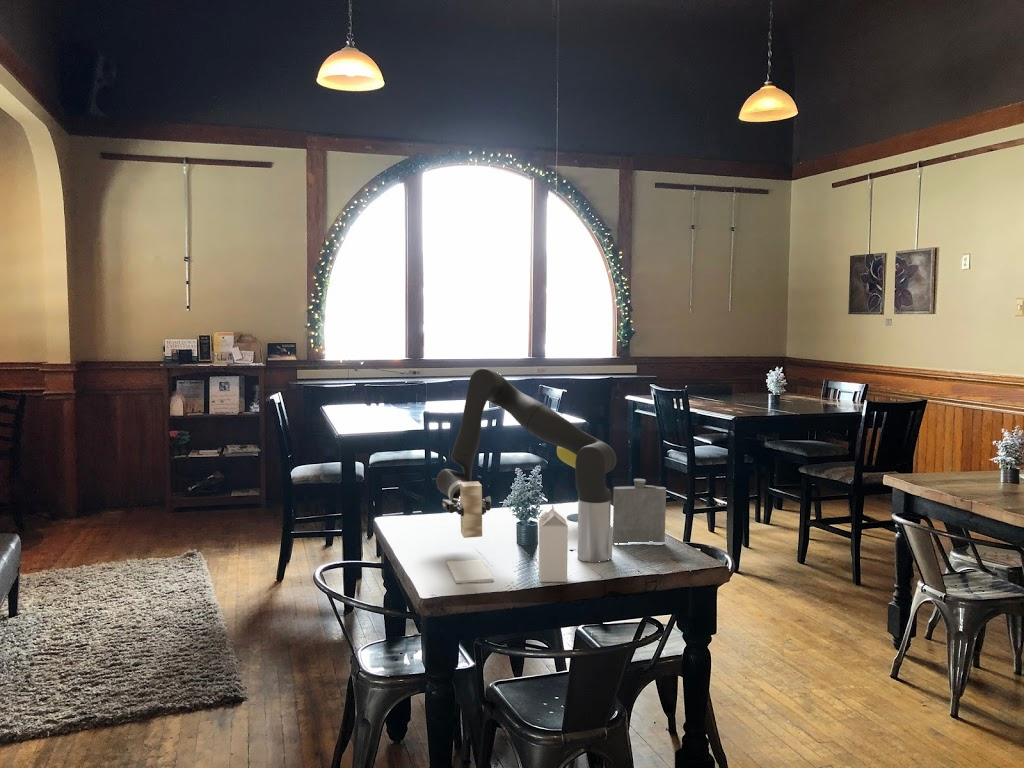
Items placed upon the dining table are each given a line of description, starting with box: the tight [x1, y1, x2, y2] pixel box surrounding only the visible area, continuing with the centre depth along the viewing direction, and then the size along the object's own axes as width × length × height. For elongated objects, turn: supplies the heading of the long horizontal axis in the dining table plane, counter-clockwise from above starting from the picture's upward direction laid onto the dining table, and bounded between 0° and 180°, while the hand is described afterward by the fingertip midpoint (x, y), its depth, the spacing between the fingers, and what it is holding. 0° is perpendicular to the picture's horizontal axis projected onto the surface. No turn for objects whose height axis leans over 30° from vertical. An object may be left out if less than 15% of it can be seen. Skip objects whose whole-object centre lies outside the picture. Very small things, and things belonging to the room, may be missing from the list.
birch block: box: [460, 480, 483, 539], centre depth 229 cm, size 5×5×14 cm
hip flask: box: [612, 478, 667, 544], centre depth 259 cm, size 16×4×20 cm, turn 92°
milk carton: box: [538, 504, 569, 583], centre depth 226 cm, size 7×7×19 cm
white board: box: [447, 559, 495, 584], centre depth 231 cm, size 10×17×1 cm, turn 12°
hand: (473, 511), depth 227 cm, fingers closed on birch block, 5 cm apart
